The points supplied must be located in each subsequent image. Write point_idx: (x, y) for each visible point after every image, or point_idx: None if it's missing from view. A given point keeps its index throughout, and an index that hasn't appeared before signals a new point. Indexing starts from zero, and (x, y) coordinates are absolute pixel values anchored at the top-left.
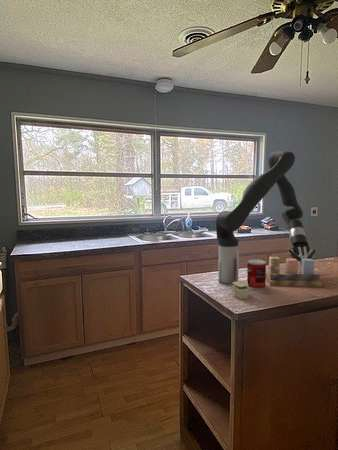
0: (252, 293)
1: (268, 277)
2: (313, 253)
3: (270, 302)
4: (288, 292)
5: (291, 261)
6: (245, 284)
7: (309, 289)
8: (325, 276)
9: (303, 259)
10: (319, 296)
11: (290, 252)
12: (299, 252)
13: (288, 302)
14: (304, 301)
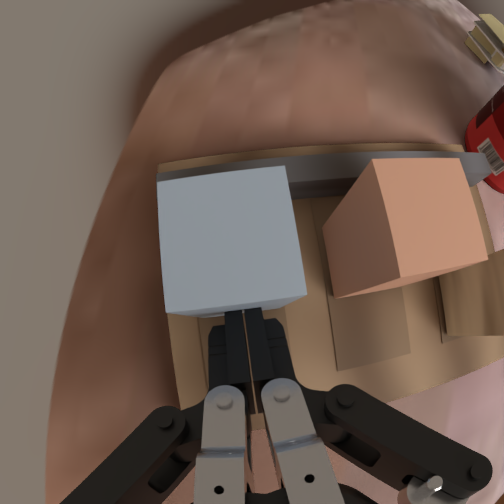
0: (470, 72)
1: (482, 216)
2: (89, 483)
3: (400, 11)
4: (361, 72)
5: (427, 164)
6: (491, 25)
7: (256, 117)
8: (89, 425)
9: (290, 232)
10: (231, 47)
11: (462, 447)
12: (332, 475)
13: (351, 6)
14: (299, 10)
